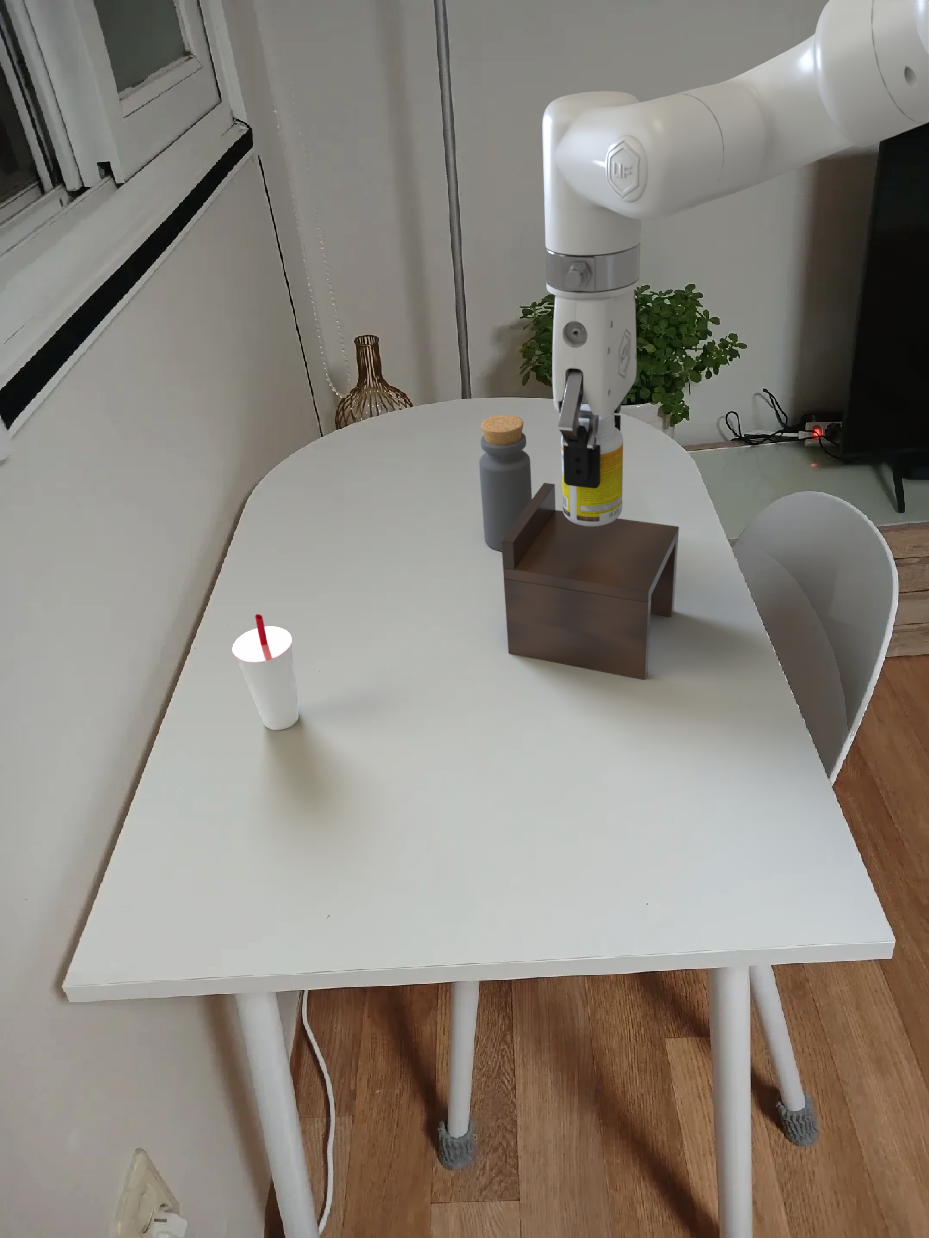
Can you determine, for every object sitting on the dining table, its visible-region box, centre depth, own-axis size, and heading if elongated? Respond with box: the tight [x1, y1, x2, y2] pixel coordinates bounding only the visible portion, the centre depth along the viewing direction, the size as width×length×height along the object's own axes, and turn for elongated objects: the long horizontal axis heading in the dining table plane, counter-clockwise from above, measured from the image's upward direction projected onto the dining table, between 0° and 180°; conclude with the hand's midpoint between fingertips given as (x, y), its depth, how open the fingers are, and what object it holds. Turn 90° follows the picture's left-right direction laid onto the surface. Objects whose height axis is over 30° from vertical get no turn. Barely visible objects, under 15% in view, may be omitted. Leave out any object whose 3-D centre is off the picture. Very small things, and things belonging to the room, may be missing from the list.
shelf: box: [501, 482, 680, 680], centre depth 94 cm, size 14×12×13 cm
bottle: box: [478, 414, 533, 552], centre depth 110 cm, size 6×6×15 cm
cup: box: [231, 613, 300, 731], centre depth 87 cm, size 5×5×12 cm
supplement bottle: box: [560, 404, 624, 526], centre depth 87 cm, size 6×6×10 cm
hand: (592, 467), depth 87 cm, fingers closed on supplement bottle, 5 cm apart
